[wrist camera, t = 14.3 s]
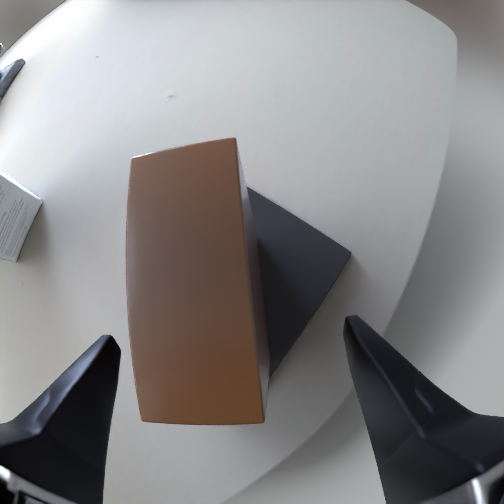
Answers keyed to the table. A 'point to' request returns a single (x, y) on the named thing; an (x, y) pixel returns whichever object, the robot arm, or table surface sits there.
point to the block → (195, 288)
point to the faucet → (9, 73)
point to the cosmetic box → (15, 216)
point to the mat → (291, 272)
